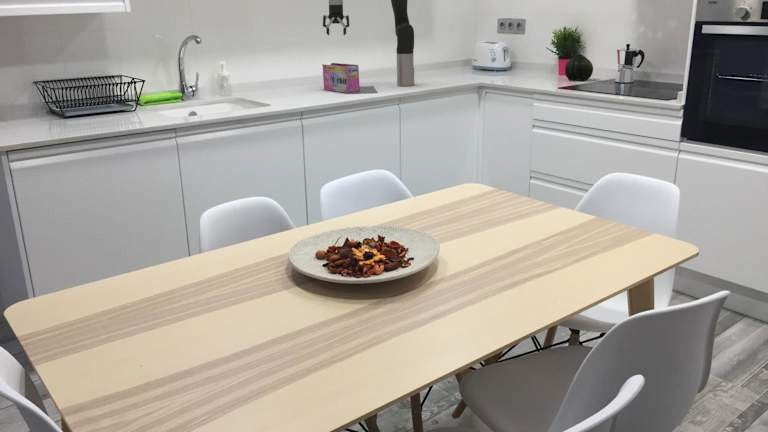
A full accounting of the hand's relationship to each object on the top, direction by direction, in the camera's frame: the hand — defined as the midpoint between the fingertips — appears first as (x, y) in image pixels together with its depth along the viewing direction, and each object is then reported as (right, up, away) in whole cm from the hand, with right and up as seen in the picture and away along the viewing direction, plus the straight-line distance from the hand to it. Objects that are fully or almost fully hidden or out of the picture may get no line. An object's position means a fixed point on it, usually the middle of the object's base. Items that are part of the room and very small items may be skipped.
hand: (336, 35), depth 371 cm
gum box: (+3, -32, -8) cm, 33 cm away
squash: (+134, -23, +10) cm, 136 cm away
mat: (+15, -31, -7) cm, 35 cm away
